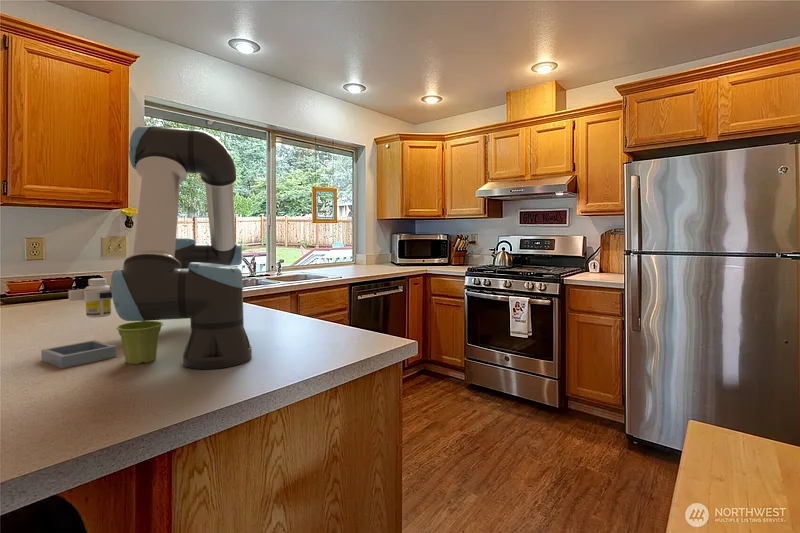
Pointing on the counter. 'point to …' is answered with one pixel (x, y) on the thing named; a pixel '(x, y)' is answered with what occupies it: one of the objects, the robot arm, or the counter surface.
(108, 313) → the supplement bottle
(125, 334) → the plant pot
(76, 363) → the dish
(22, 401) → the counter surface
